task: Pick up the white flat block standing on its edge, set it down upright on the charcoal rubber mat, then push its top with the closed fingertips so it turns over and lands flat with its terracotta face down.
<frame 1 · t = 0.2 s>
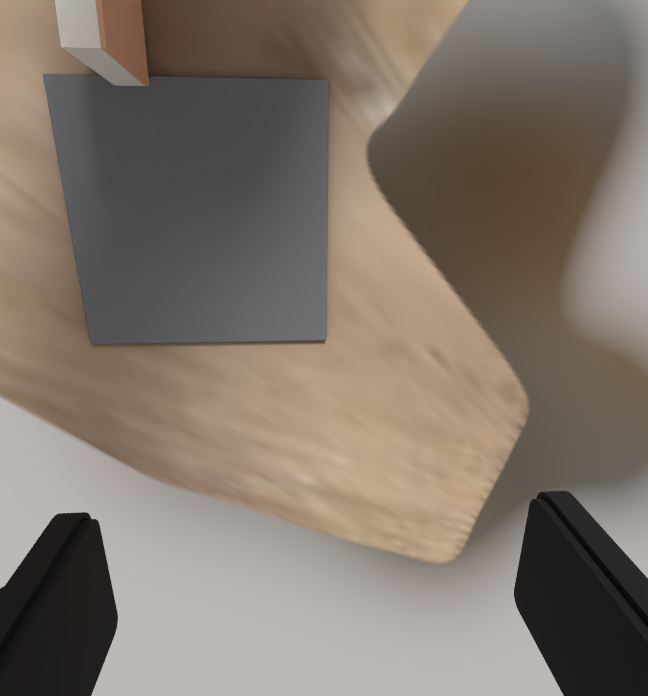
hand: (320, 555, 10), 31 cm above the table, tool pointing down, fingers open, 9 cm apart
mat: (201, 221, 37), on the table
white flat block: (126, 29, 32), on the table, touching mat
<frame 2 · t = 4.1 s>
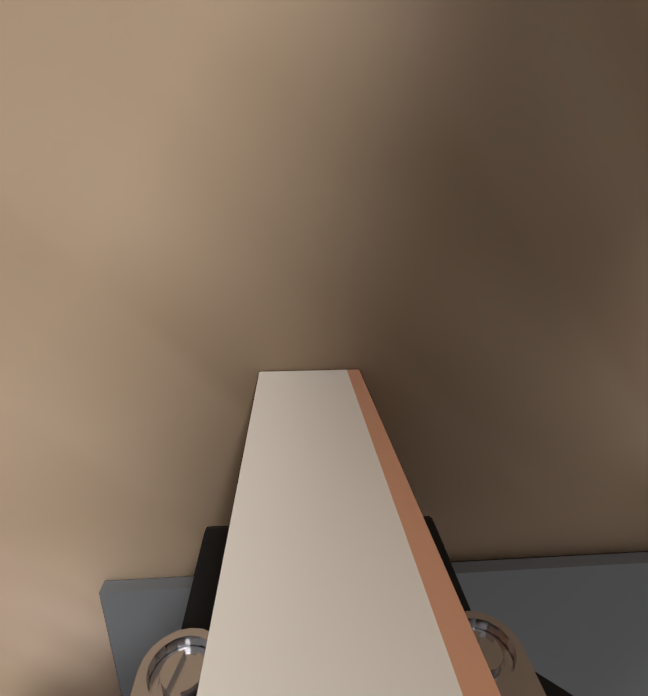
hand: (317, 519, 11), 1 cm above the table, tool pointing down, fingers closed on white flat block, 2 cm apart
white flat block: (310, 496, 12), on the table, touching gripper, mat
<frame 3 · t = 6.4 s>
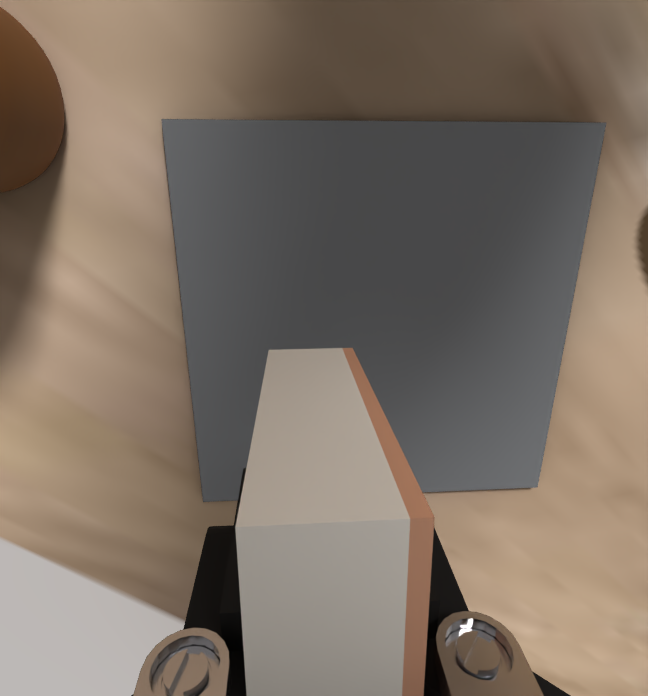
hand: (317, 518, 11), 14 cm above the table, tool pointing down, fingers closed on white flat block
mat: (379, 331, 24), on the table
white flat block: (312, 459, 14), point 11 cm above the table, tilted 5°, touching gripper
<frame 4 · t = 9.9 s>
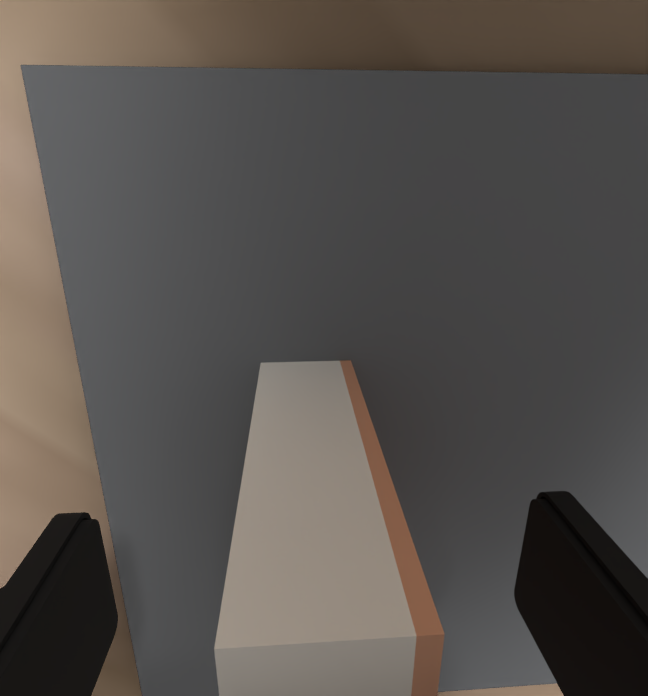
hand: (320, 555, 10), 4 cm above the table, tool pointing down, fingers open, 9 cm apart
mat: (443, 451, 14), on the table
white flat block: (307, 473, 14), resting on mat
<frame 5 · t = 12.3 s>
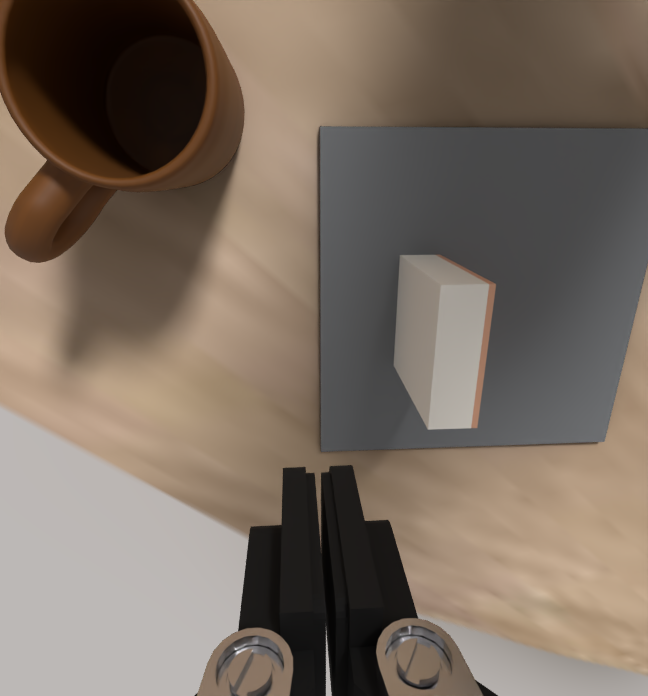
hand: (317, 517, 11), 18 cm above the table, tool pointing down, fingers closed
mug: (152, 147, 25), on the table
mat: (480, 304, 29), on the table
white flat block: (415, 312, 28), resting on mat
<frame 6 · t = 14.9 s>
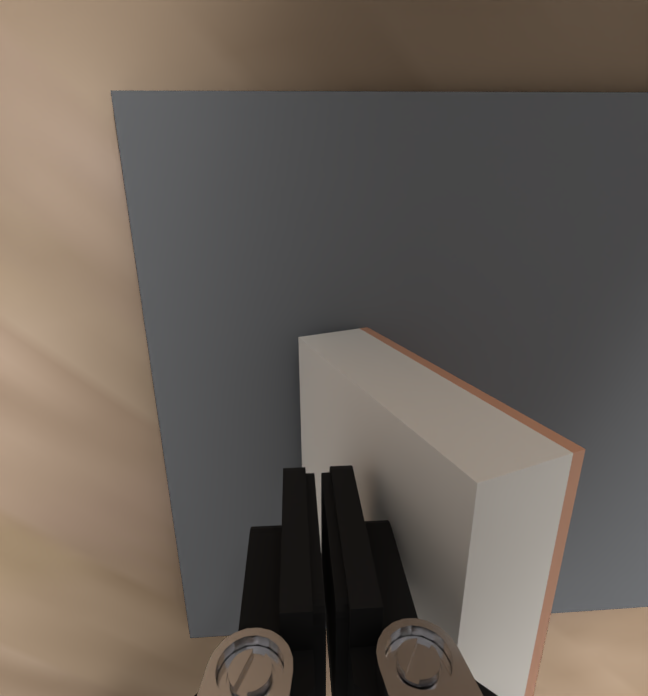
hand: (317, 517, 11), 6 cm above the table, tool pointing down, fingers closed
mat: (444, 406, 17), on the table
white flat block: (334, 429, 16), point 1 cm above the table, tilted 20°, touching mat
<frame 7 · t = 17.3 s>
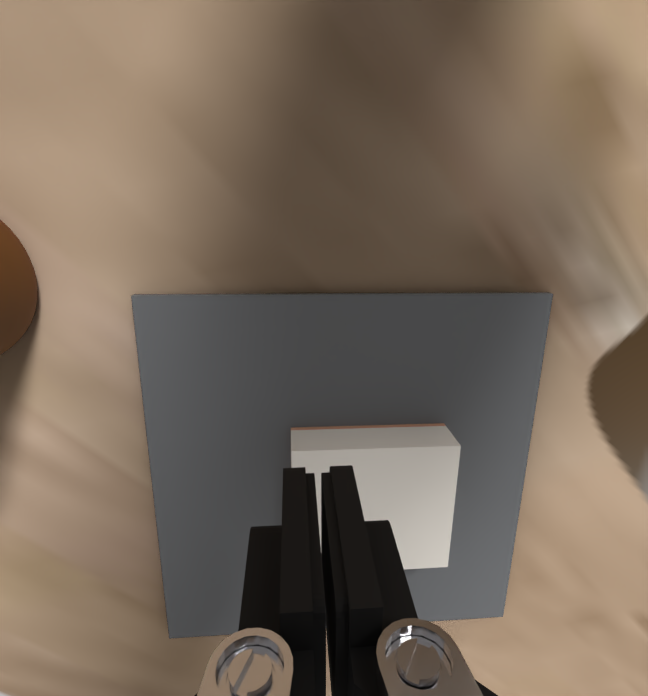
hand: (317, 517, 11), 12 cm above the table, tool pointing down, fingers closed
mat: (344, 476, 25), on the table
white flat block: (291, 501, 23), point 2 cm above the table, tilted 90°, touching mat
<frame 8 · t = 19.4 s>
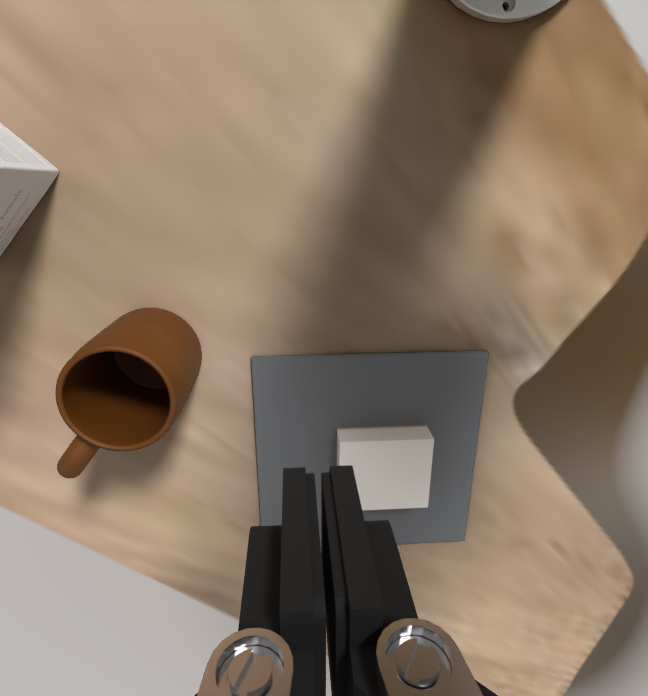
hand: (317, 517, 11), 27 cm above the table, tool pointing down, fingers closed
mug: (143, 369, 38), on the table
mat: (367, 455, 42), on the table
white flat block: (337, 469, 41), point 2 cm above the table, tilted 90°, touching mat
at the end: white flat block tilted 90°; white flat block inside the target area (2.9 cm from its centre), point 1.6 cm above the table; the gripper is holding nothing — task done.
